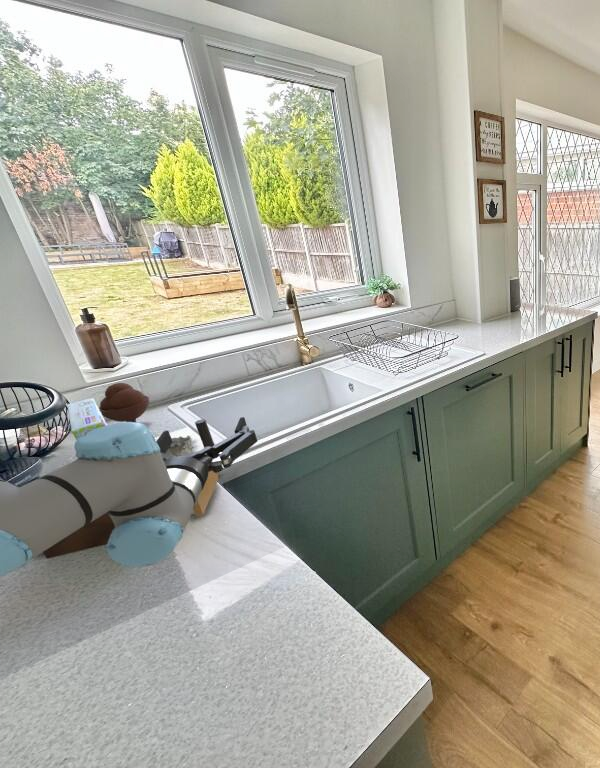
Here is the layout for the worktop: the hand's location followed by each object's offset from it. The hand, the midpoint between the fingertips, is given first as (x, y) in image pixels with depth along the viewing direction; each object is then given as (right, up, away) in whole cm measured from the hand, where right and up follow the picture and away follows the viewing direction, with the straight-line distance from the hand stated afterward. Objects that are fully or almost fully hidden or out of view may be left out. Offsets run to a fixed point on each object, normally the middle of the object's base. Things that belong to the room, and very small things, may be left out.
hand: (207, 429), depth 87 cm
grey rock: (-23, -9, +21) cm, 33 cm away
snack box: (-38, -11, +18) cm, 43 cm away
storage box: (-17, -19, -2) cm, 25 cm away
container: (-7, -16, +1) cm, 17 cm away
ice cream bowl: (-46, -5, +34) cm, 57 cm away
